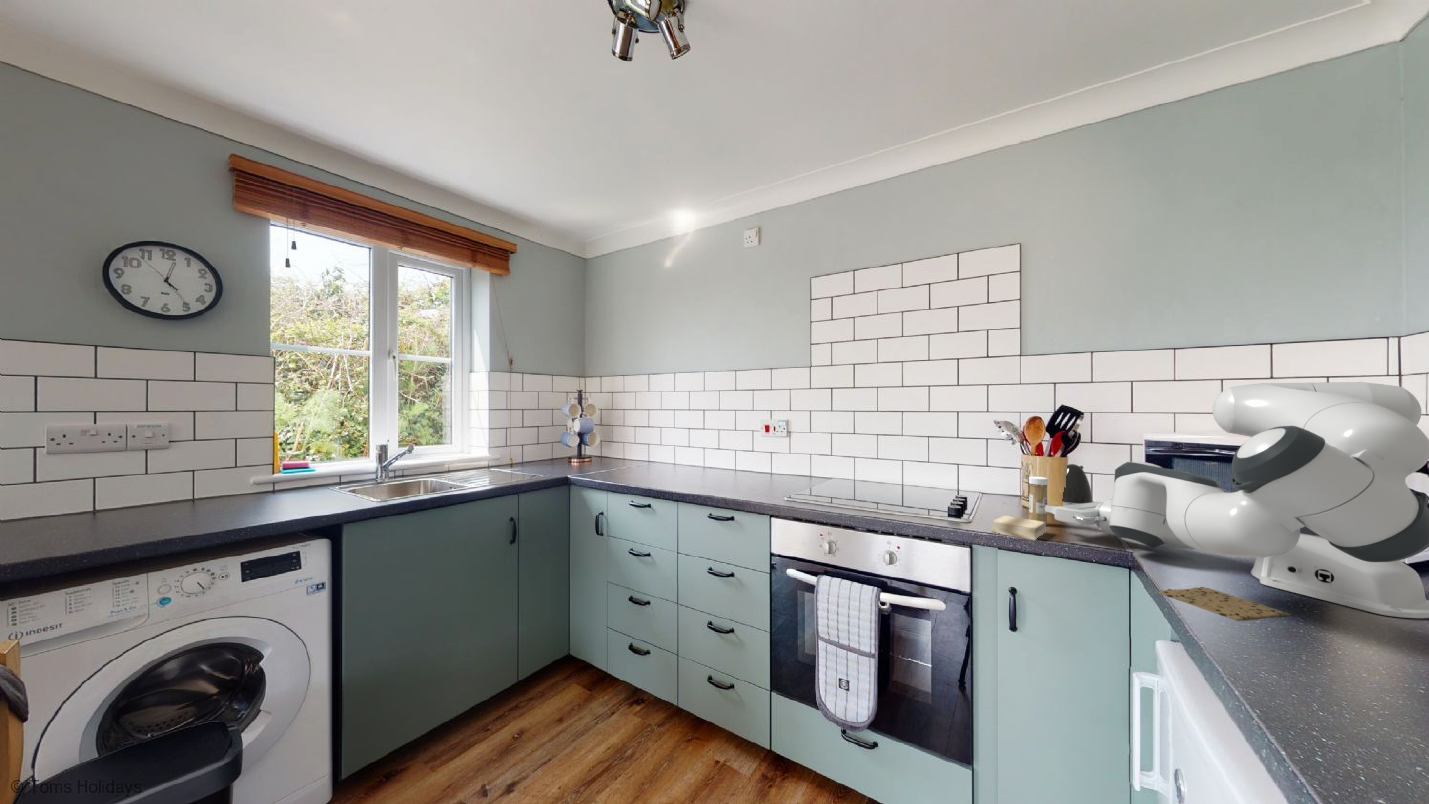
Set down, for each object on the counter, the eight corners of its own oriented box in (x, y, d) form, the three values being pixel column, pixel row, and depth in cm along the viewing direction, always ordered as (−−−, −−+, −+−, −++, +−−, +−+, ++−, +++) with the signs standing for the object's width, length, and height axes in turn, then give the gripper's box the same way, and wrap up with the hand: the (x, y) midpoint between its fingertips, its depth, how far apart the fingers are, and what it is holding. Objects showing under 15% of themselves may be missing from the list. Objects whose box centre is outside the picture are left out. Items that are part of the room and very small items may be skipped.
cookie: (1293, 617, 80) (1293, 611, 80) (1237, 623, 78) (1237, 617, 78) (1207, 590, 92) (1207, 584, 92) (1155, 594, 89) (1155, 589, 89)
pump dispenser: (1099, 513, 155) (1100, 465, 155) (1080, 516, 150) (1081, 466, 150) (1064, 506, 164) (1065, 461, 164) (1046, 509, 159) (1046, 463, 159)
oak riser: (1045, 533, 130) (1045, 522, 130) (1035, 540, 123) (1035, 528, 123) (1003, 526, 137) (1003, 515, 137) (991, 532, 130) (991, 521, 130)
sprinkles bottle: (1045, 526, 136) (1045, 479, 136) (1026, 523, 140) (1026, 477, 140) (1049, 524, 140) (1049, 477, 140) (1031, 521, 143) (1031, 475, 143)
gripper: (1091, 534, 117) (1033, 521, 129) (1137, 527, 126) (1078, 515, 138) (1092, 507, 117) (1033, 497, 130) (1137, 502, 126) (1078, 493, 138)
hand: (1057, 507), depth 134 cm, fingers open, 8 cm apart
